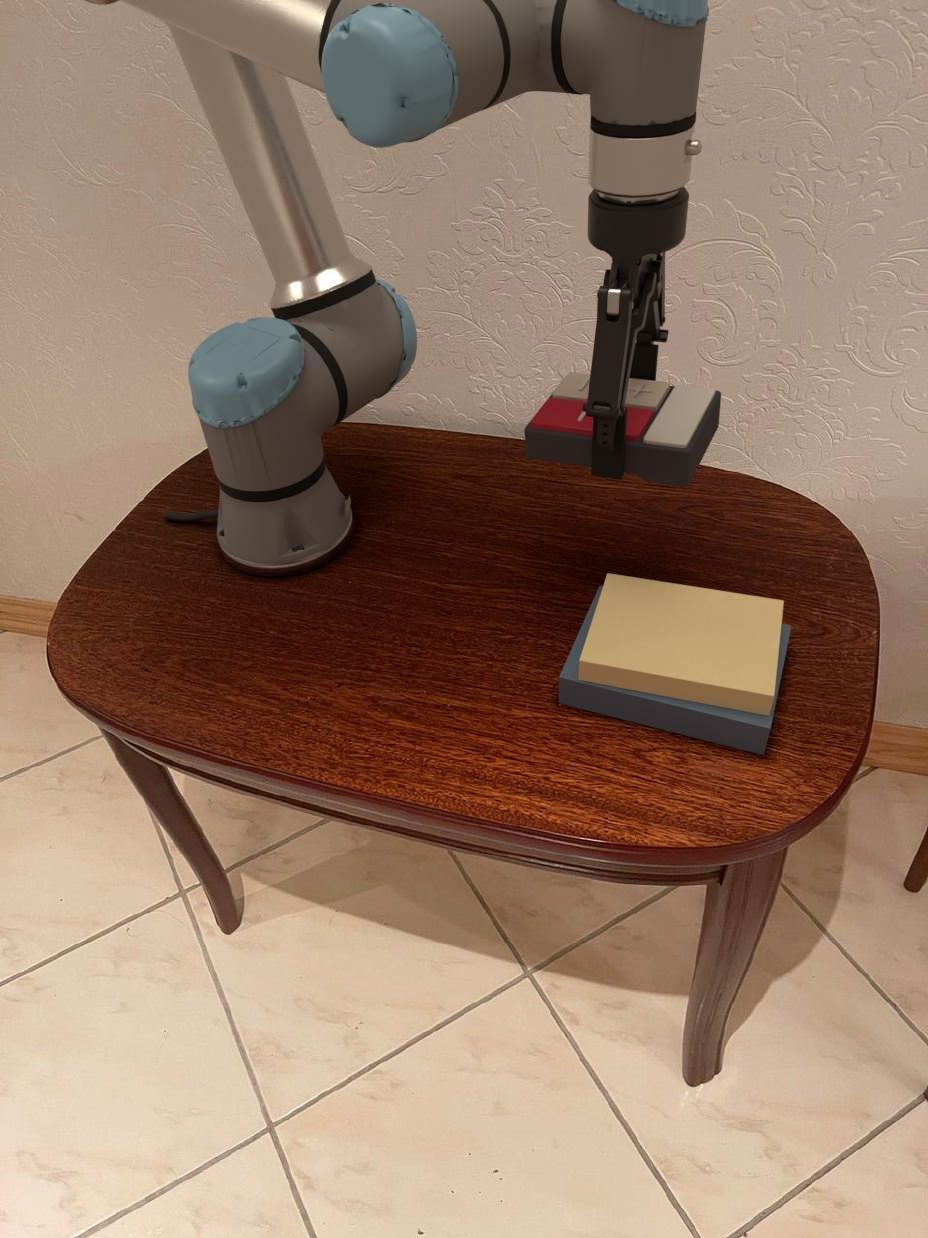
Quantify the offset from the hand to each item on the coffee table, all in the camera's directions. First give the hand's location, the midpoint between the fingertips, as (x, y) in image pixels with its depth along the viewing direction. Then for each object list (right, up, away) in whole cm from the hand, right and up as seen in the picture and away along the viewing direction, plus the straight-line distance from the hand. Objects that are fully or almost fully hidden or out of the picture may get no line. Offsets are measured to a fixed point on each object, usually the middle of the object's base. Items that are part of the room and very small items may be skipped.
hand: (623, 440), depth 81 cm
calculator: (0, 0, 0) cm, 0 cm away
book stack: (+5, -22, 0) cm, 22 cm away
